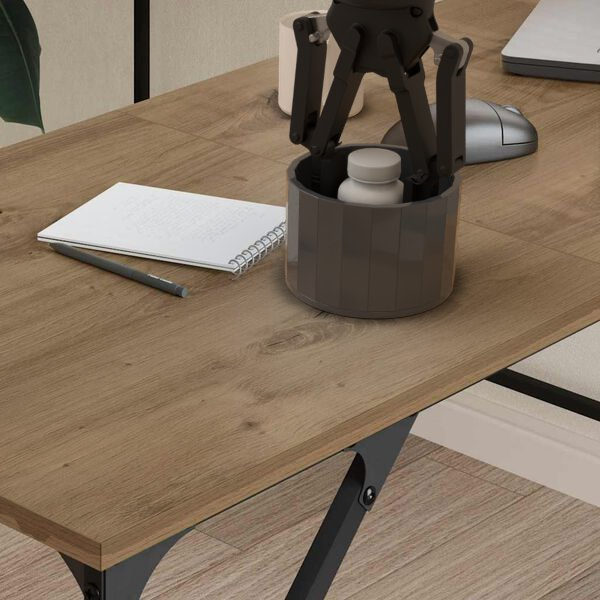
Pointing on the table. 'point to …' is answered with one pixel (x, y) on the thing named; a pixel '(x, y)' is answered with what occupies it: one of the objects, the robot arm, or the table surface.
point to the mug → (289, 65)
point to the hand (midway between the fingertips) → (370, 243)
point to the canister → (370, 245)
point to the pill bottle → (373, 177)
